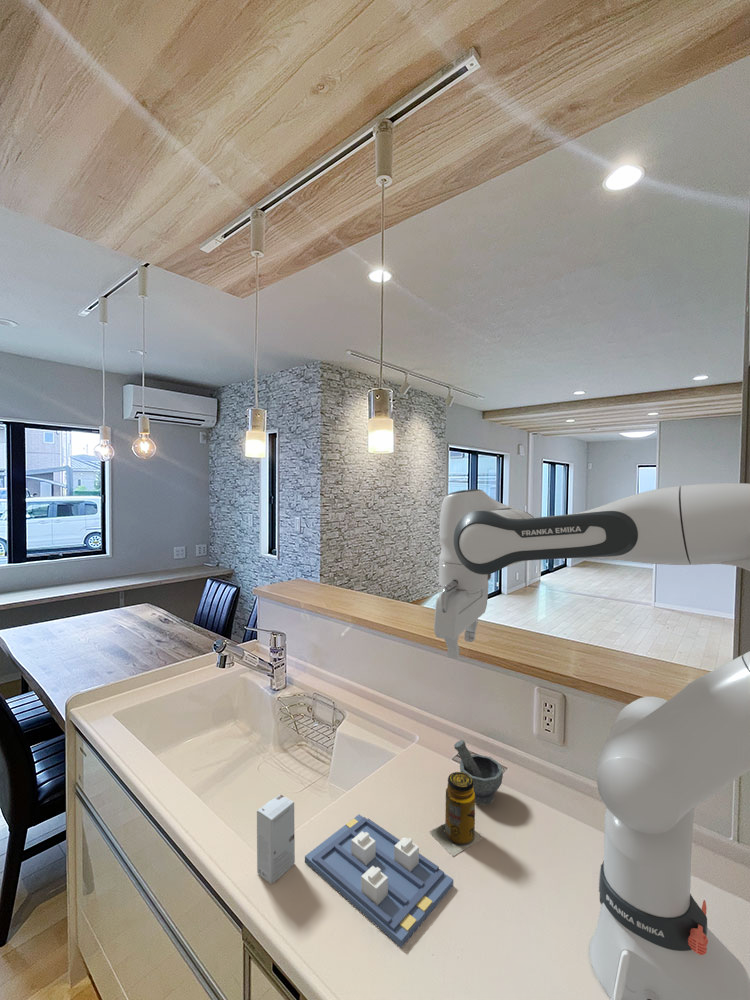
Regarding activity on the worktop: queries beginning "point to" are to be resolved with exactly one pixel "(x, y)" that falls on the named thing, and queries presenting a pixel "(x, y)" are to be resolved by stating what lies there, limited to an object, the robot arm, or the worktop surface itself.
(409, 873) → the switch bank
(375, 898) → the tab
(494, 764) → the mortar and pestle
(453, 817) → the condiment
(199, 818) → the worktop surface
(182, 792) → the worktop surface
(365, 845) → the tab
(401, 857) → the tab
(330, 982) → the worktop surface
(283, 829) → the skincare box
